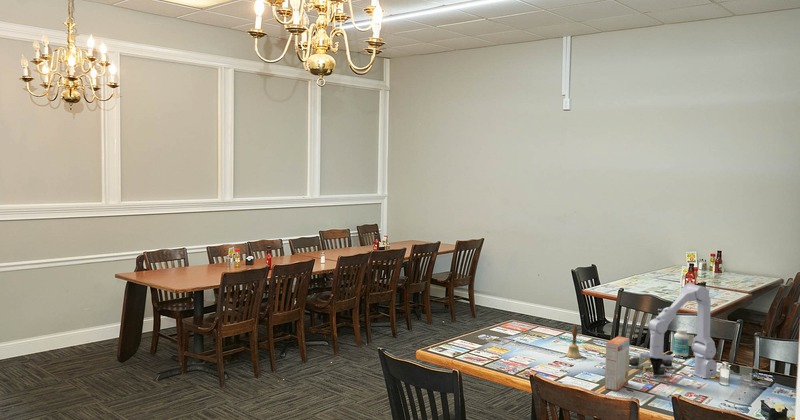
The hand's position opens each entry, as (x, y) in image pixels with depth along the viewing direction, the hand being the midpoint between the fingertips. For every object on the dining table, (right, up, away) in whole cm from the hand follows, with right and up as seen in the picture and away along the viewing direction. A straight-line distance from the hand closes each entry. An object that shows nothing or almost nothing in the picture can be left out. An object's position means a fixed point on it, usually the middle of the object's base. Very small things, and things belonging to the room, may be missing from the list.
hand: (655, 374), depth 295 cm
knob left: (+1, -1, +5) cm, 5 cm away
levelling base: (+6, -2, +14) cm, 15 cm away
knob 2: (+10, 0, +19) cm, 22 cm away
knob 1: (-6, 0, +20) cm, 21 cm away
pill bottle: (+29, 0, +40) cm, 49 cm away
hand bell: (-28, 0, +34) cm, 45 cm away
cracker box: (-21, -3, -10) cm, 24 cm away
